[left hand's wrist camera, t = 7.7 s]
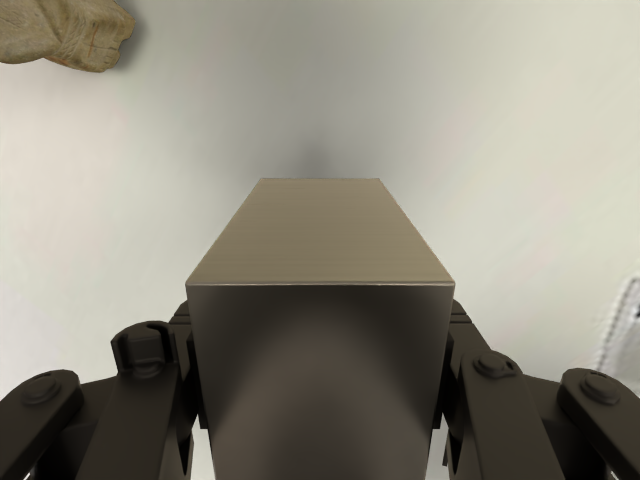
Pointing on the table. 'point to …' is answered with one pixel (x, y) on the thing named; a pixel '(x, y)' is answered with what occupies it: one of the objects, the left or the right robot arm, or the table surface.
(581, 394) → the left robot arm
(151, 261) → the table surface
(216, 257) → the bar
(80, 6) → the sculpture
